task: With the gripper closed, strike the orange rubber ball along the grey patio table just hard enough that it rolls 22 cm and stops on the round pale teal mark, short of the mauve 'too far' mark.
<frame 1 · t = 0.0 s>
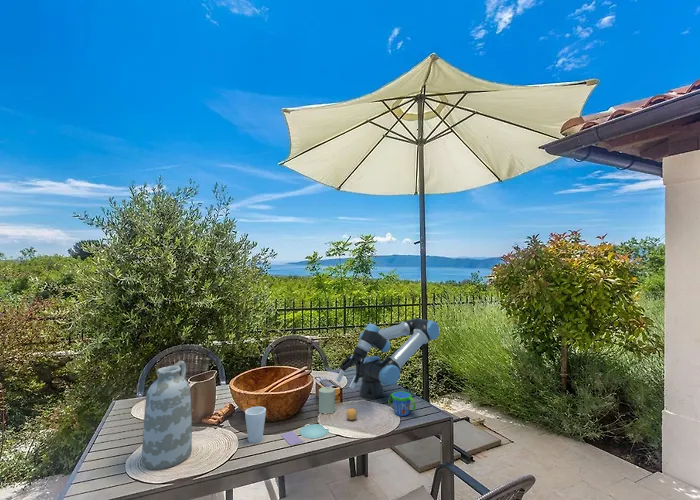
hand: (344, 384, 186), 15 cm above the table, tool tilted 35°, fingers open, 13 cm apart
foam cup: (255, 439, 158), on the table
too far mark: (291, 438, 158), on the table
ball: (351, 414, 177), on the table
snack cup: (401, 414, 183), on the table
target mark: (314, 431, 165), on the table
vase: (168, 456, 144), on the table
can: (326, 411, 188), on the table
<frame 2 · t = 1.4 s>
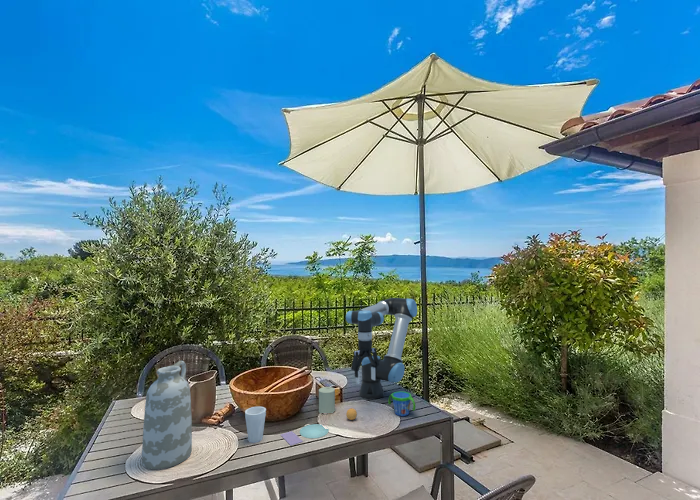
hand: (365, 381, 183), 18 cm above the table, tool pointing down, fingers open, 10 cm apart
nothing on the table moved.
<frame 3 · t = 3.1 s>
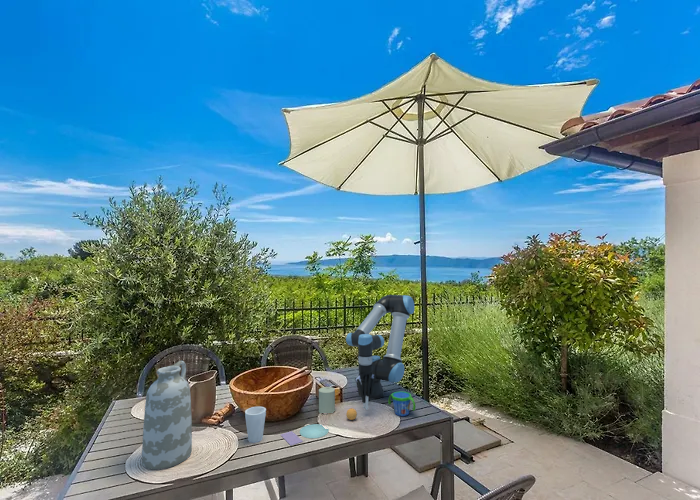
hand: (365, 408, 182), 4 cm above the table, tool pointing down, fingers closed
nothing on the table moved.
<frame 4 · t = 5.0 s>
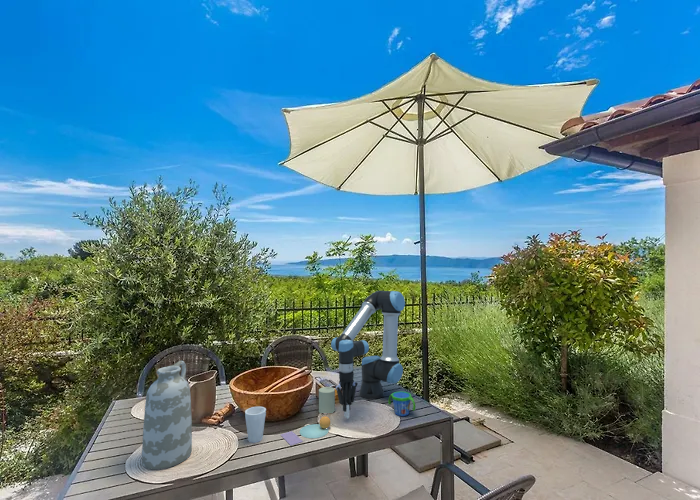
hand: (346, 417, 176), 2 cm above the table, tool pointing down, fingers closed
ball: (324, 422, 168), on the table
everything else where it was.
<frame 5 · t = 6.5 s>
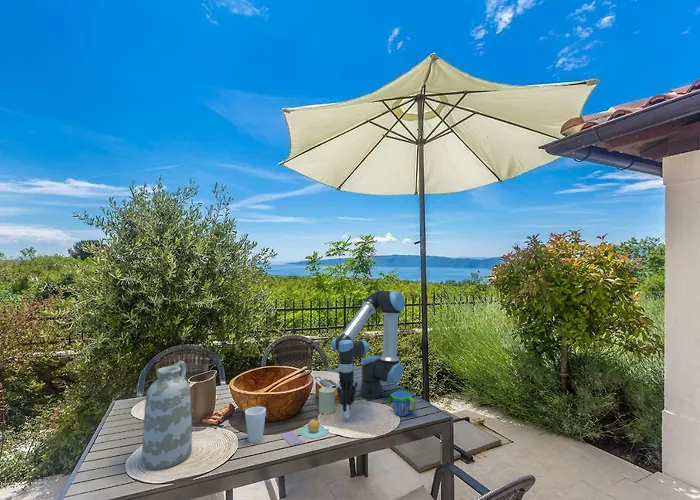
hand: (346, 417, 176), 2 cm above the table, tool pointing down, fingers closed
ball: (313, 425, 164), on the table
everything else where it was.
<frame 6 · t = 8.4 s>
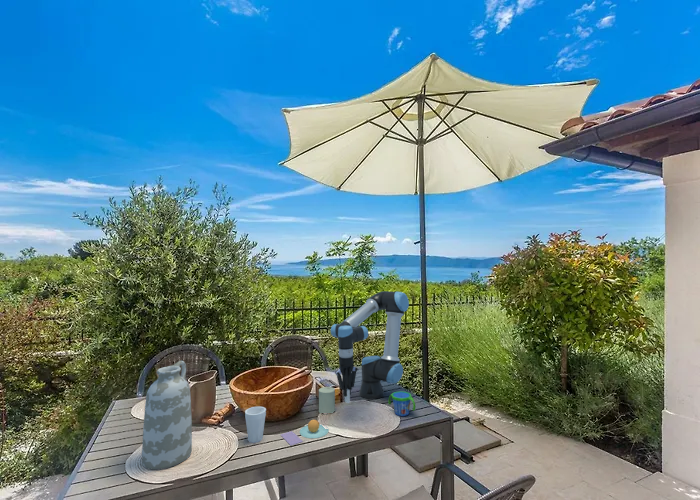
hand: (347, 402, 176), 9 cm above the table, tool pointing down, fingers closed
nothing on the table moved.
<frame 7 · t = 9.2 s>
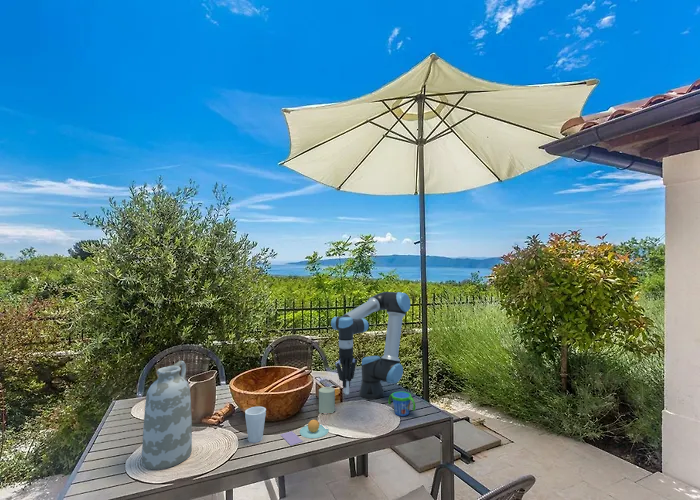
hand: (346, 393, 176), 14 cm above the table, tool pointing down, fingers closed
nothing on the table moved.
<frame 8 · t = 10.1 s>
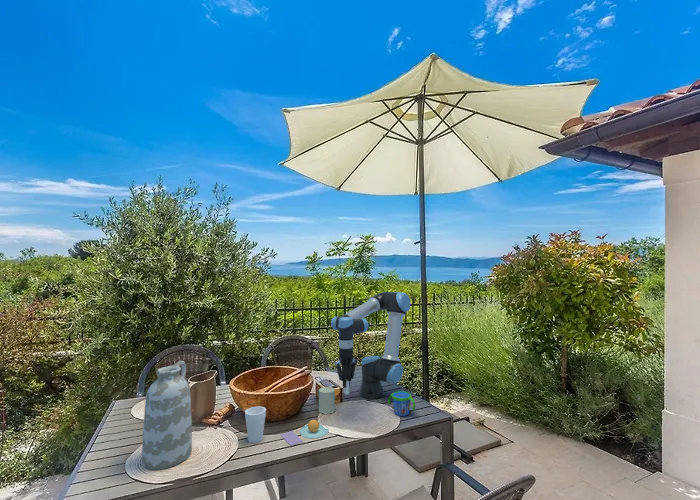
hand: (346, 393, 176), 14 cm above the table, tool pointing down, fingers closed
nothing on the table moved.
at the end: ball 0.7 cm from the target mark (horizontally); ball at rest at the end (0.0 cm/s); ball moved 22.6 cm from its start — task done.
